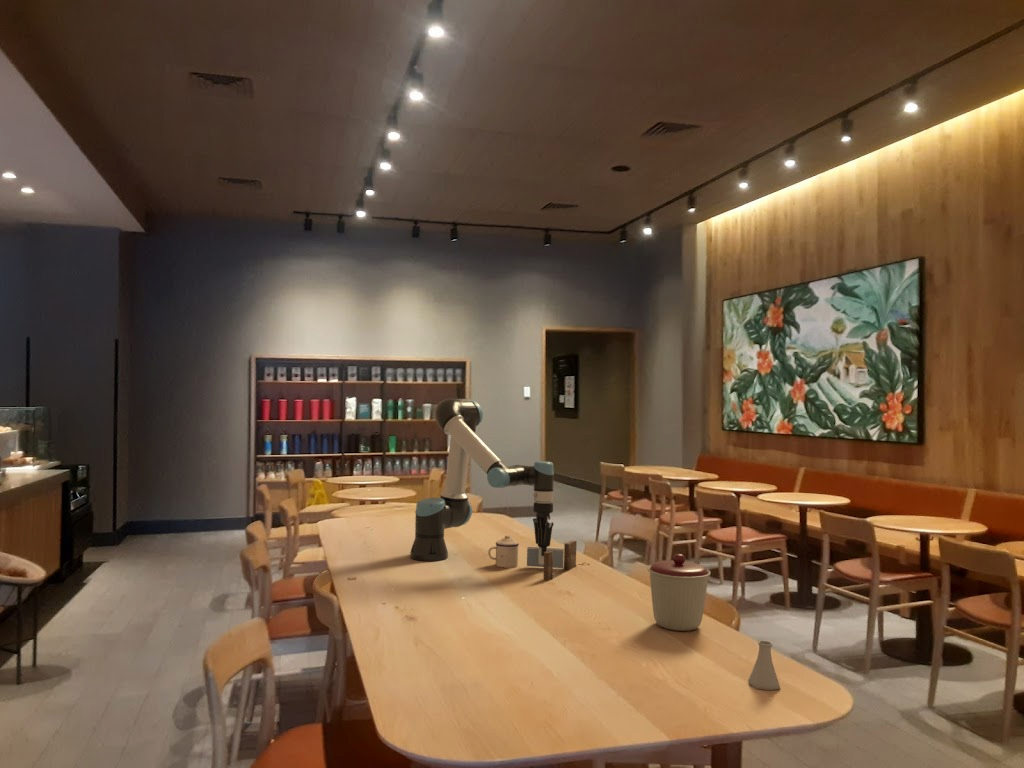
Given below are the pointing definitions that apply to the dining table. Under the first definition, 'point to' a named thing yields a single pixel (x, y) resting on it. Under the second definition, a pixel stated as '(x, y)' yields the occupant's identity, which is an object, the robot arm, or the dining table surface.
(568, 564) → the frame
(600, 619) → the dining table surface
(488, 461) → the robot arm
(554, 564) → the gate
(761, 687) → the flask
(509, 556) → the teacup with lid
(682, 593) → the canister
